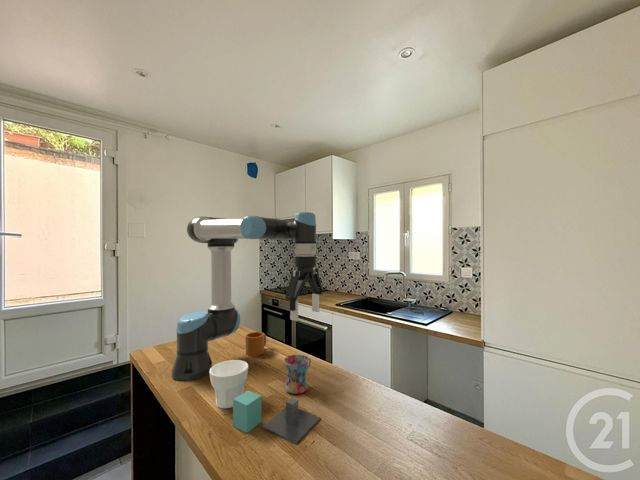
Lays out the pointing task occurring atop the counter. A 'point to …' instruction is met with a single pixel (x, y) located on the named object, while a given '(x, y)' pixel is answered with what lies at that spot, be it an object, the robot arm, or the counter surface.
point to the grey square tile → (292, 422)
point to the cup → (228, 381)
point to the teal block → (247, 411)
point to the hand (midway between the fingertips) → (305, 315)
